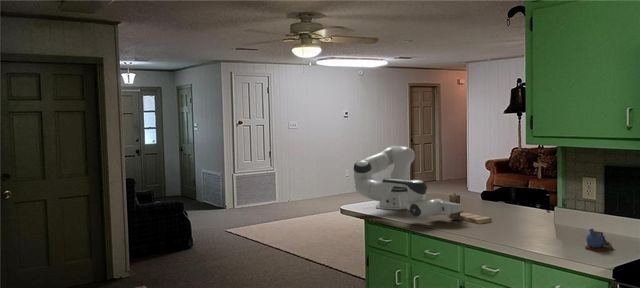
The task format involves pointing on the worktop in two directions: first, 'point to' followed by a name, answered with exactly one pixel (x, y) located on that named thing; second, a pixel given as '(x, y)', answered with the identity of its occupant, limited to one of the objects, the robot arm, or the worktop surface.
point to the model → (597, 242)
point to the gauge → (455, 199)
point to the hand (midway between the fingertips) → (456, 204)
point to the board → (474, 218)
